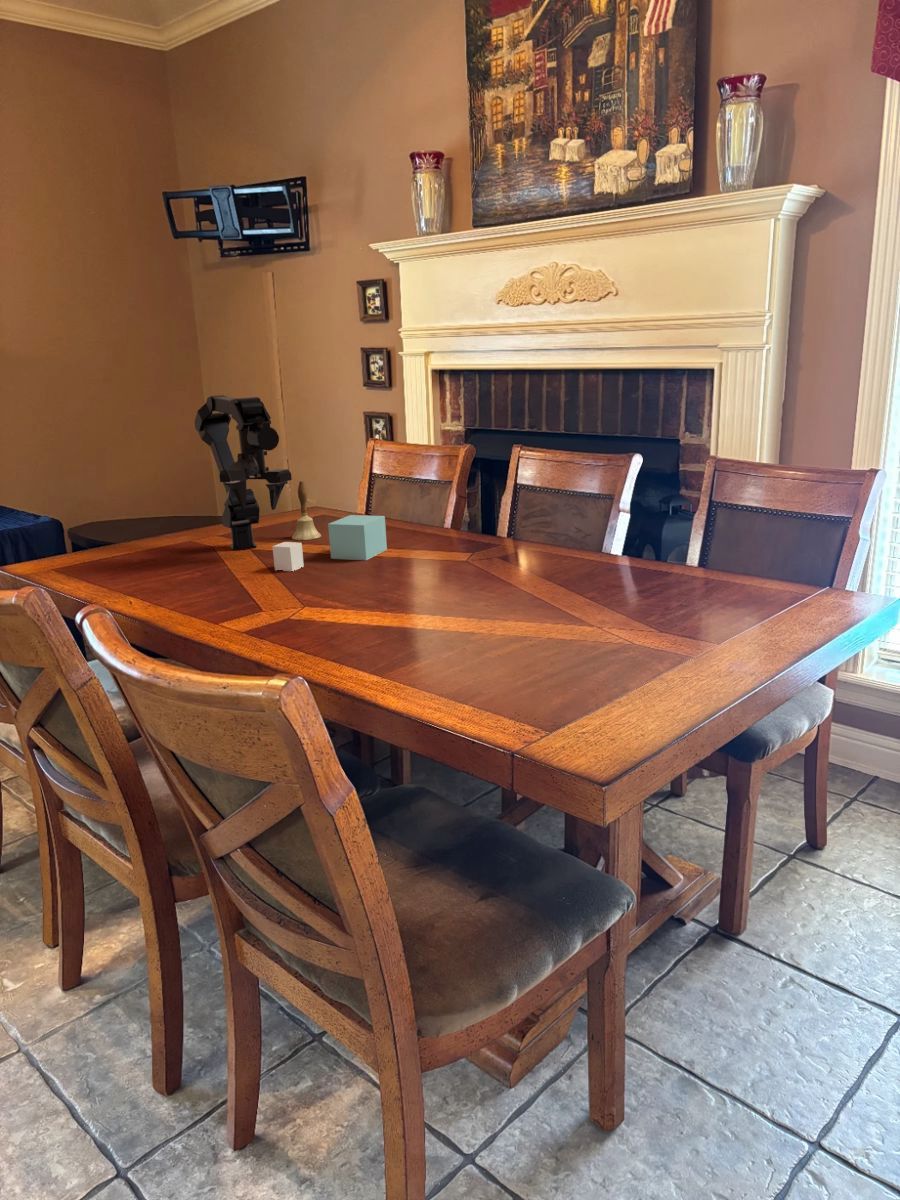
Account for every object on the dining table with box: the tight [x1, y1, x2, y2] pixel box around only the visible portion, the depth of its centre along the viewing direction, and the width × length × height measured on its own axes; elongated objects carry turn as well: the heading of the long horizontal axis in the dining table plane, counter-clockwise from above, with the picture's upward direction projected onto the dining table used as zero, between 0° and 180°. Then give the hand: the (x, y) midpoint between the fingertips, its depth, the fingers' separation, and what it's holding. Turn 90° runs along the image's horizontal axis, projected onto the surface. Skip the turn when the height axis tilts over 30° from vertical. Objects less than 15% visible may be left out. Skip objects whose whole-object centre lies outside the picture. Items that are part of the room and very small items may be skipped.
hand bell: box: [291, 480, 322, 541], centre depth 239 cm, size 8×8×16 cm
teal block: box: [327, 514, 388, 561], centre depth 217 cm, size 10×12×9 cm
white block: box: [271, 541, 305, 572], centre depth 206 cm, size 5×5×6 cm
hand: (258, 509), depth 220 cm, fingers open, 9 cm apart
